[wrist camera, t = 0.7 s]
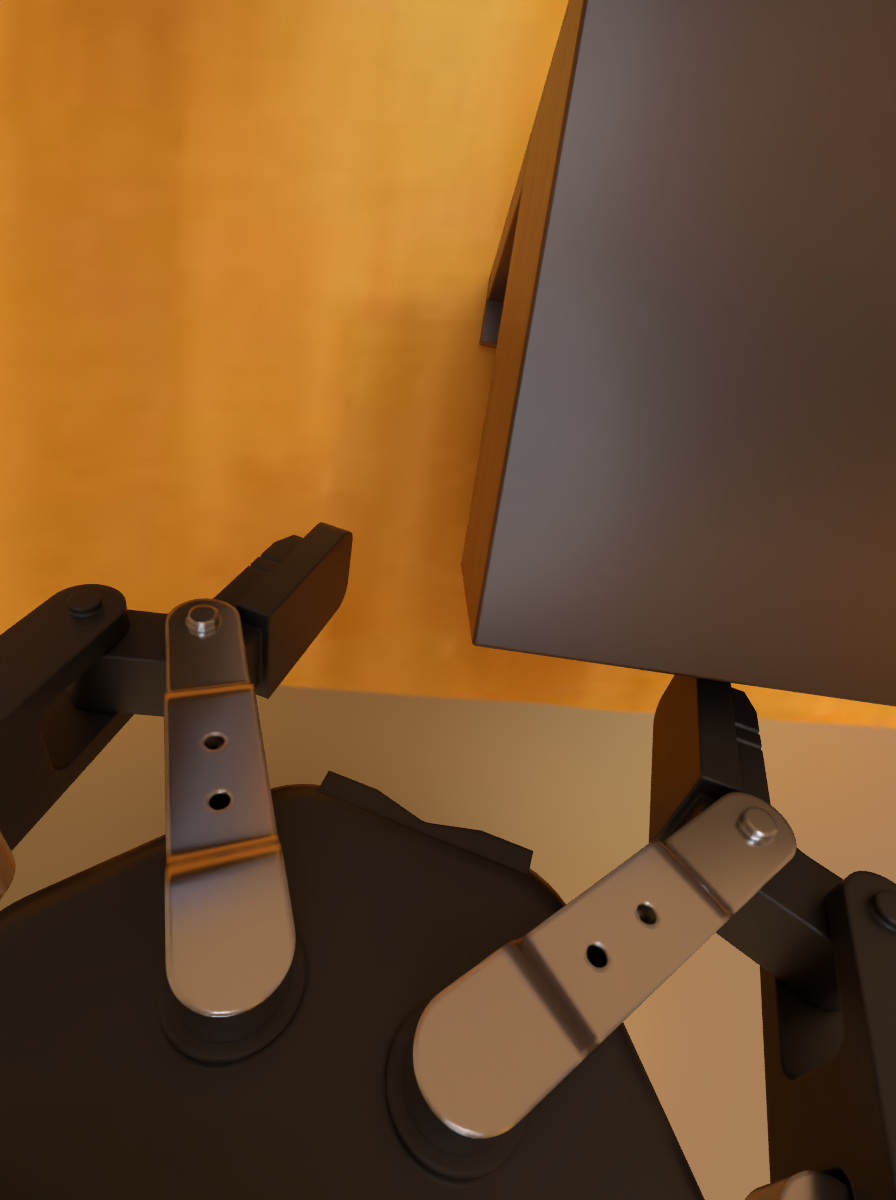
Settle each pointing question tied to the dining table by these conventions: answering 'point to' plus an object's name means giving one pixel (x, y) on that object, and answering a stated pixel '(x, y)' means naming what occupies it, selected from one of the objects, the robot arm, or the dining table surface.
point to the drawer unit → (699, 352)
